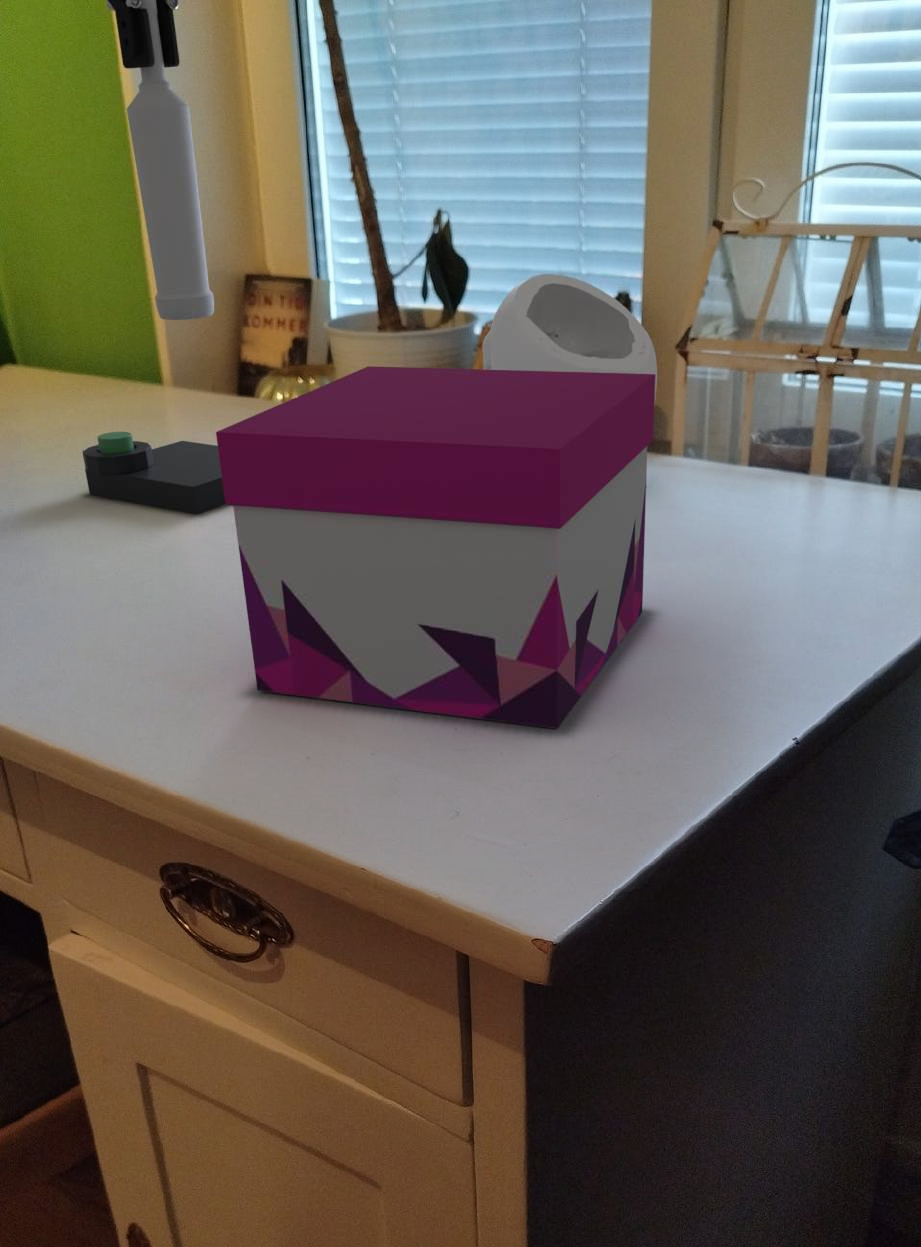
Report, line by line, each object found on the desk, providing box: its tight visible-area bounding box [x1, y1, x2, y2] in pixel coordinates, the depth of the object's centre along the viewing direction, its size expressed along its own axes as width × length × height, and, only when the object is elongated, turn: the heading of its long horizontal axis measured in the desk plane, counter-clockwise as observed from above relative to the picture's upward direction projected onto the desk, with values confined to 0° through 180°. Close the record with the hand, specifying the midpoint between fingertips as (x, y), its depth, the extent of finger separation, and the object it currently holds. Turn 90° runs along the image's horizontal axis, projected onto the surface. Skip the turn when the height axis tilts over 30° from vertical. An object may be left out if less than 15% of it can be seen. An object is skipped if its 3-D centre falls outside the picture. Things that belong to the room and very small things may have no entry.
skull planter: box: [481, 273, 658, 406], centre depth 112 cm, size 14×20×19 cm
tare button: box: [97, 431, 134, 454], centre depth 113 cm, size 3×3×2 cm
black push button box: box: [82, 440, 226, 515], centre depth 115 cm, size 14×13×4 cm
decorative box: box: [215, 365, 656, 729], centre depth 75 cm, size 19×19×15 cm
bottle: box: [126, 0, 215, 321], centre depth 108 cm, size 5×5×25 cm
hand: (151, 65), depth 105 cm, fingers closed on bottle, 2 cm apart
